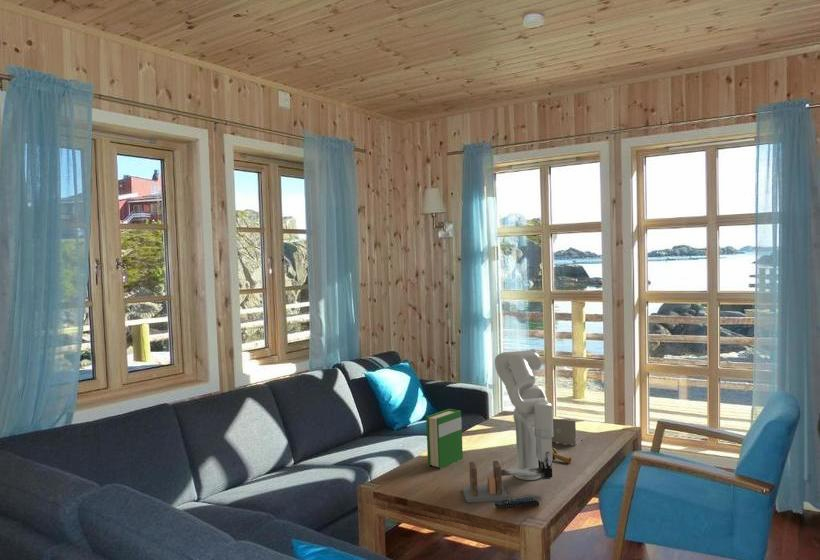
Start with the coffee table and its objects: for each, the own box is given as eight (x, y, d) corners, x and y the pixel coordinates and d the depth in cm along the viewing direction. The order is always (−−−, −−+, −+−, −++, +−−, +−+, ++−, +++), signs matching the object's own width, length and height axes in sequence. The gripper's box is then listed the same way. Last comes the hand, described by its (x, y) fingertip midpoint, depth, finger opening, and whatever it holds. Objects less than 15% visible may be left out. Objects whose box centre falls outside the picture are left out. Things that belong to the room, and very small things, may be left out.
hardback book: (440, 469, 292) (438, 418, 292) (428, 466, 297) (426, 416, 297) (462, 459, 306) (461, 410, 305) (450, 456, 311) (449, 408, 310)
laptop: (583, 440, 330) (582, 415, 330) (576, 446, 320) (575, 421, 320) (550, 435, 340) (550, 412, 340) (542, 442, 330) (541, 417, 329)
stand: (498, 487, 263) (497, 460, 263) (502, 494, 255) (501, 467, 255) (470, 488, 263) (469, 462, 262) (472, 495, 255) (471, 468, 254)
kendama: (574, 463, 297) (540, 451, 309) (574, 451, 296) (540, 440, 308) (565, 470, 292) (532, 458, 304) (565, 458, 290) (532, 446, 302)
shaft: (547, 475, 262) (547, 461, 261) (550, 479, 258) (549, 464, 257) (499, 478, 261) (498, 464, 261) (500, 481, 257) (500, 467, 257)
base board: (502, 487, 266) (502, 484, 266) (508, 500, 252) (508, 496, 252) (462, 489, 266) (462, 486, 266) (466, 502, 252) (466, 499, 252)
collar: (493, 488, 262) (492, 474, 262) (495, 493, 256) (495, 479, 256) (487, 488, 262) (487, 474, 262) (489, 493, 256) (489, 479, 256)
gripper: (530, 427, 267) (531, 466, 268) (540, 438, 250) (541, 481, 251) (547, 426, 268) (549, 466, 268) (558, 437, 250) (560, 480, 251)
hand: (545, 473), depth 259 cm, fingers open, 9 cm apart
